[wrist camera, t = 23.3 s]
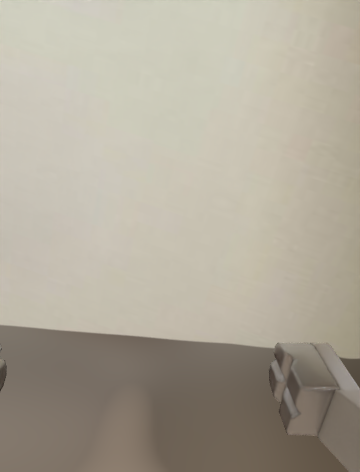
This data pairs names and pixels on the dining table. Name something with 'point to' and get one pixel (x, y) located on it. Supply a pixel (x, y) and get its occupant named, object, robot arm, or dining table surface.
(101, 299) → the dining table surface
